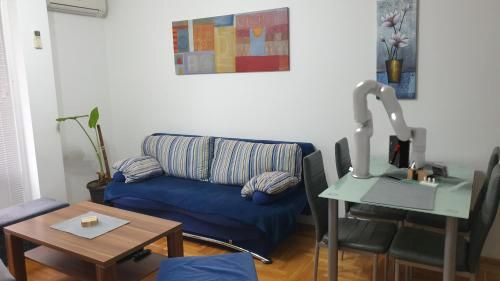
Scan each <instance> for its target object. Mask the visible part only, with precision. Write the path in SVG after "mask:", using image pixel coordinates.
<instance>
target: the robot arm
mask: <svg viewBox="0 0 500 281" xmlns="http://www.w3.org/2000/svg"><path fill="white" fill-rule="evenodd" d="M369 94H370V95H373V96H376V97H379V100H380V101H381V103H382V106H383V107H384V109H385V111H386V114H387V117H388V120H389V121H390V124H391V127H392V129H393V130H394V131H393V132H394V133H395V135H397V137H398V138H399V139H400V140H401V141H407V140H409V139H410V140H411V141H412V143H411V153H410V156H409V163H410V167H409V169H411V170H412V180H418V174H417V173H418V169H419V170H424V167H425V165H426V150H427V149H426V148H427V129H426V127H413V126H408V125H407V123H406V121H405V118H404V113H403V112H404V111H403V108H402V106H401V104H400V102H399V100H398V98H397V96H396V89H395V88H394V87H392V86H391V85H388V84H385V83H382V82H381V81H377V80H374V79H365V80H363V81H361V82H359V83H358V84H356V86H355V87H354V89H353V91H352V106H353V107H352V110H353V120H354V122H355V123H357V127H356V129H355V130H354V133H353V145H354V146H353V147H354V151H353V153H354V154H353V167H349V169H348V171H349V172H351V175H350V176H351V178H352V177H353V178H356V179H370V178H372V176H373V174H372V173H370V164H371V138H372V136H373V135H374V122H373V121H374V120H373V119H374V118H373V113H372V111H371V110H370V109H369V107H368V105H369V104H368V98H367V97H368V95H369ZM415 169H416V170H415Z"/></svg>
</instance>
